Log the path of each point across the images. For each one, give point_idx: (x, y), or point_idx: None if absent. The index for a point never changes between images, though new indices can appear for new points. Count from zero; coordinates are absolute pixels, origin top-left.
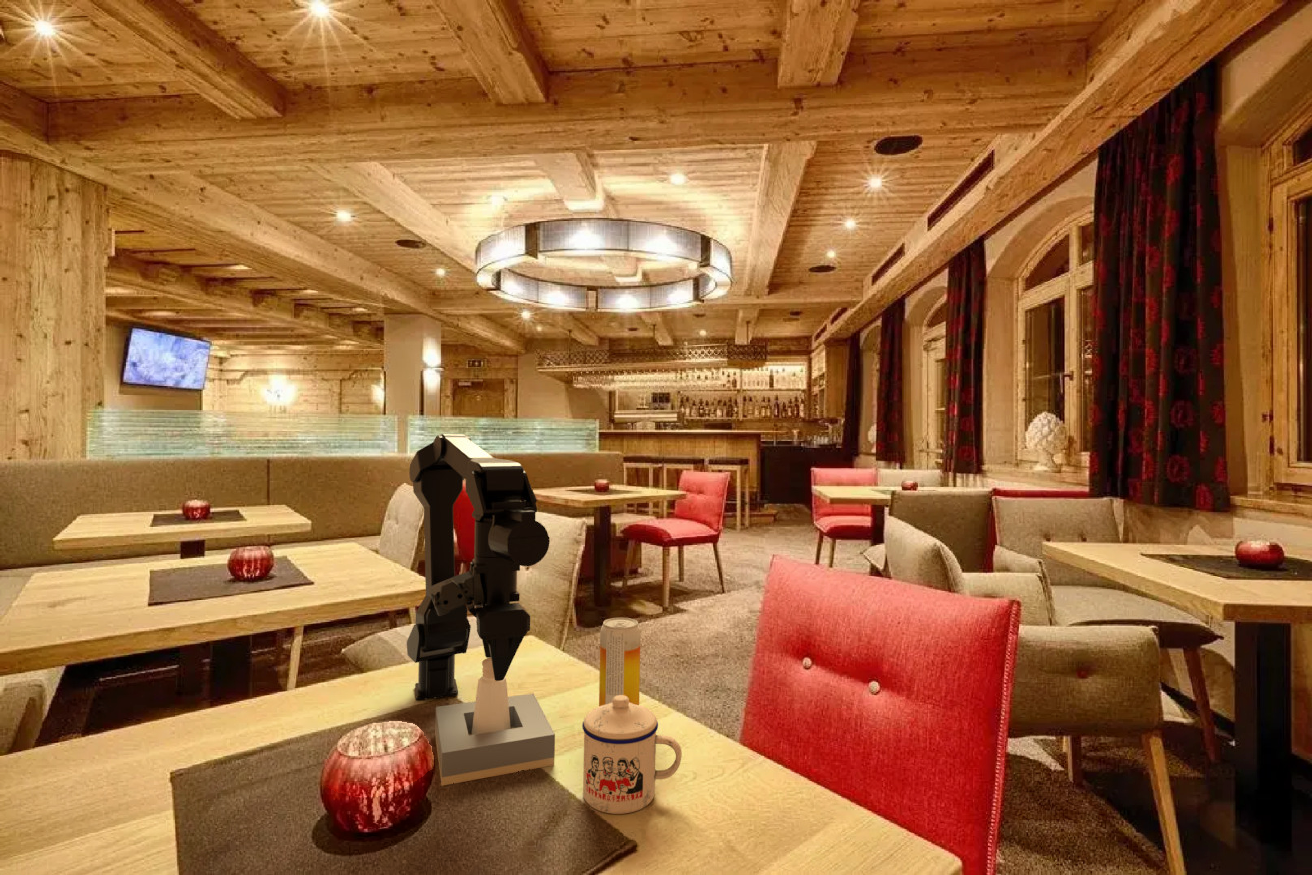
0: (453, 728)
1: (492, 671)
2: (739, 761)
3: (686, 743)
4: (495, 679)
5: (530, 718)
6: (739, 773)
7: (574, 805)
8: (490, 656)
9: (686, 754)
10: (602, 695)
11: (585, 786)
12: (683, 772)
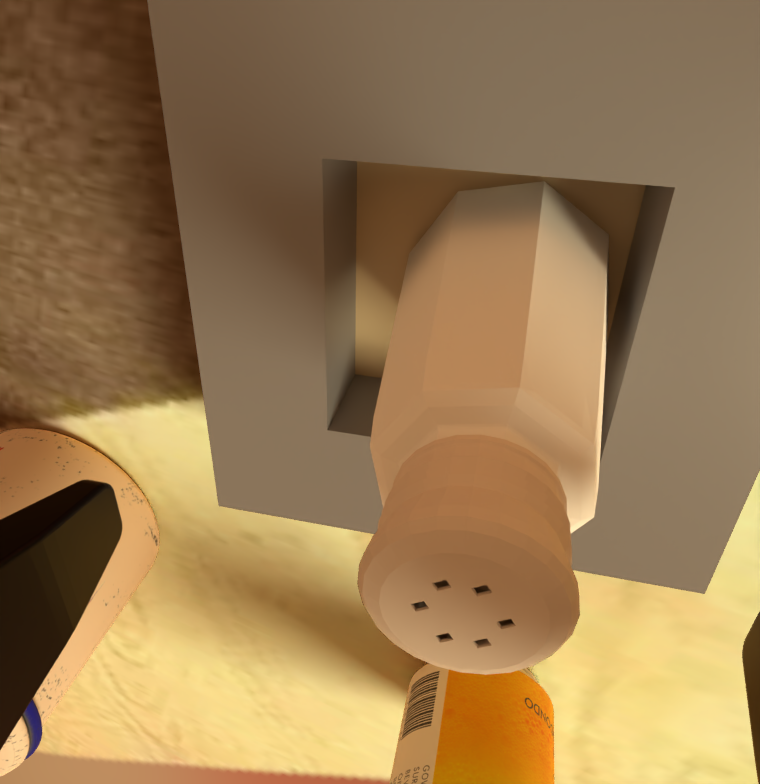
0: (461, 76)
1: (380, 524)
2: (166, 740)
3: (277, 722)
4: (76, 485)
5: None
6: (120, 714)
7: (28, 395)
8: (754, 634)
9: (224, 695)
10: (456, 749)
11: (6, 452)
12: (144, 651)
